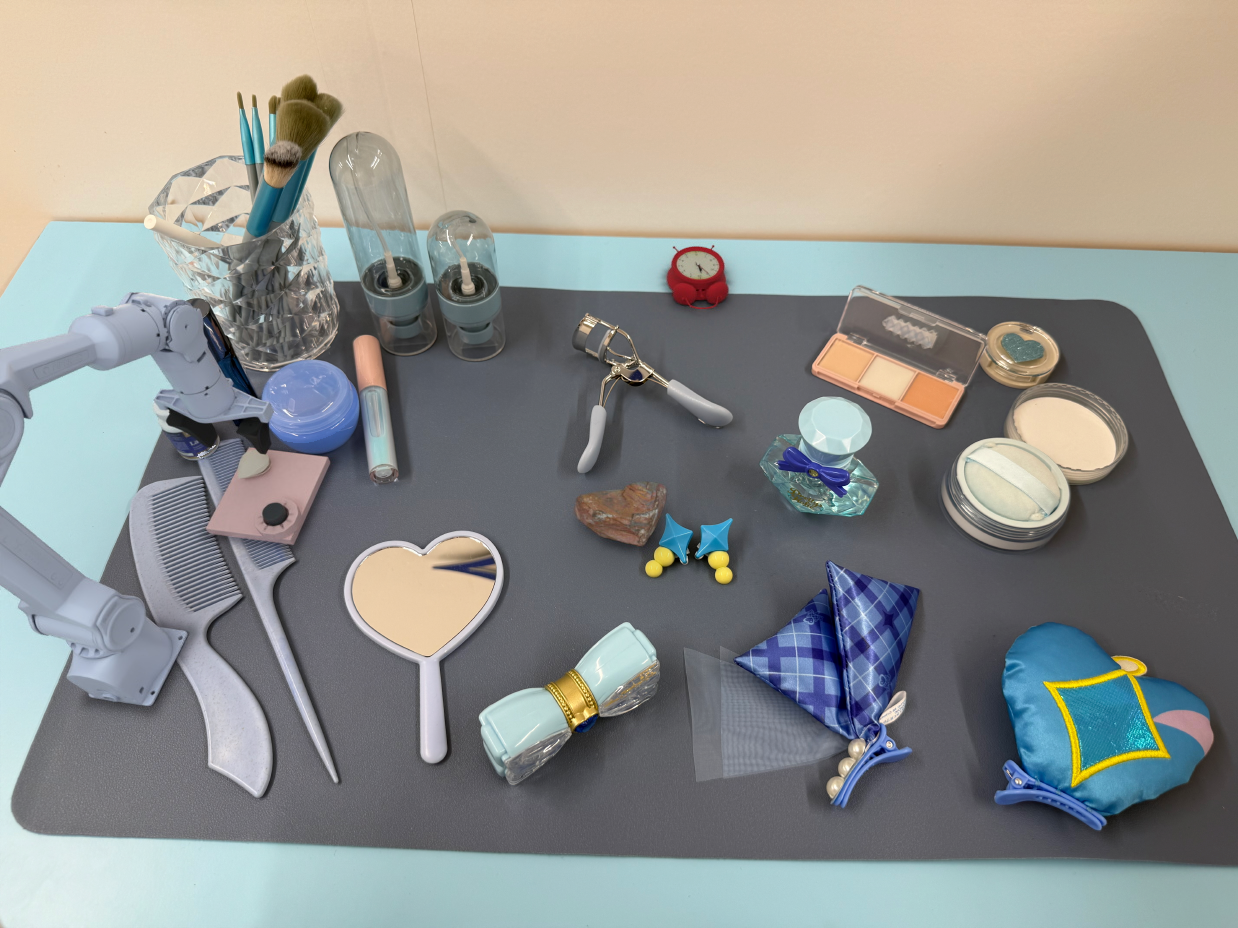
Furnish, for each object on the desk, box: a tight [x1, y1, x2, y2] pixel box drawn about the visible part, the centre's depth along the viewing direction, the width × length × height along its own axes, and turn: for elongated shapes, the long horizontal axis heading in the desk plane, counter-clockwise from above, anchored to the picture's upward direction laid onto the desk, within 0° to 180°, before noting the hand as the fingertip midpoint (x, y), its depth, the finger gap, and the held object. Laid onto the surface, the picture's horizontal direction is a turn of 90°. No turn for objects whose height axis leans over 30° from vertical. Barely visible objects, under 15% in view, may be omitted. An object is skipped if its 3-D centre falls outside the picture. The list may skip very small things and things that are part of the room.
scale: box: [205, 446, 331, 546], centre depth 108 cm, size 14×12×3 cm
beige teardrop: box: [237, 450, 271, 479], centre depth 109 cm, size 4×5×2 cm
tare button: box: [262, 502, 287, 526], centre depth 103 cm, size 3×3×2 cm
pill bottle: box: [152, 401, 220, 461], centre depth 110 cm, size 6×6×10 cm
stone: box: [573, 480, 668, 547], centre depth 102 cm, size 13×8×10 cm
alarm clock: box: [666, 244, 729, 310], centre depth 134 cm, size 10×6×15 cm
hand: (239, 445), depth 104 cm, fingers open, 7 cm apart
